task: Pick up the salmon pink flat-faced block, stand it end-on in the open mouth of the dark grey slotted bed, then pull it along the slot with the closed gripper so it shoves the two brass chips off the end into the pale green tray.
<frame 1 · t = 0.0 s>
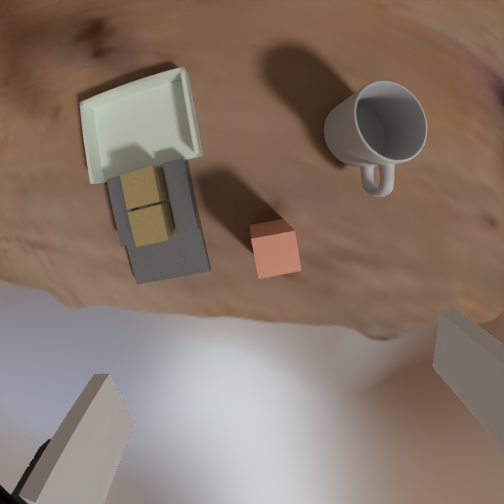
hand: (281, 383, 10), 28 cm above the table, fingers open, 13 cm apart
chip b: (157, 221, 35), point 1 cm above the table, touching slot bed
mug: (355, 147, 35), on the table
salmon pink flat-faced block: (269, 237, 37), on the table
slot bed: (161, 222, 37), on the table
tray: (142, 128, 34), on the table
chip a: (150, 186, 34), point 1 cm above the table, touching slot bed
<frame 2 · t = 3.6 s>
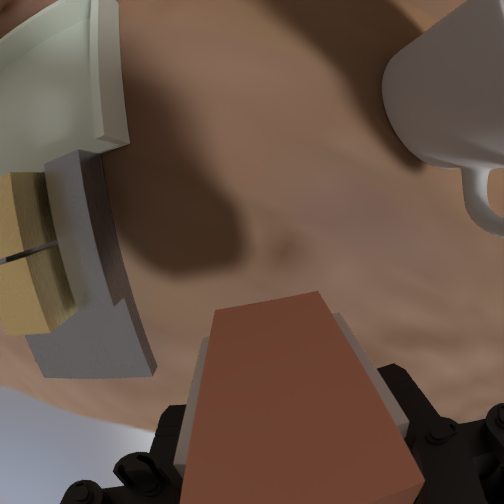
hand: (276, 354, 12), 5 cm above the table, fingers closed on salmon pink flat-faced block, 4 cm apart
chip b: (52, 279, 16), point 1 cm above the table, touching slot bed
mug: (437, 131, 15), on the table
salmon pink flat-faced block: (274, 342, 12), point 5 cm above the table, touching gripper
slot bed: (63, 279, 17), on the table
tray: (35, 104, 14), on the table
chip a: (35, 212, 15), point 1 cm above the table, touching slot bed
when the fingers open (2 cm above the table, at t = 7.4 s): salmon pink flat-faced block stays where it is, resting on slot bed.
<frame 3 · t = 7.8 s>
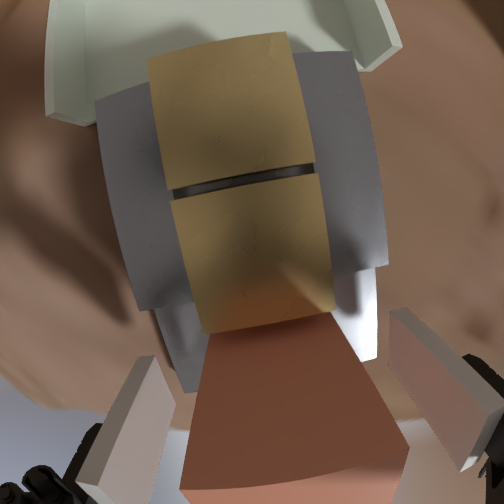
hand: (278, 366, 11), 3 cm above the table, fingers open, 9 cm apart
chip b: (253, 233, 12), point 1 cm above the table, touching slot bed
salmon pink flat-faced block: (273, 334, 13), point 1 cm above the table, touching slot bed
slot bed: (254, 237, 13), on the table
chip a: (233, 127, 11), point 1 cm above the table, touching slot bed
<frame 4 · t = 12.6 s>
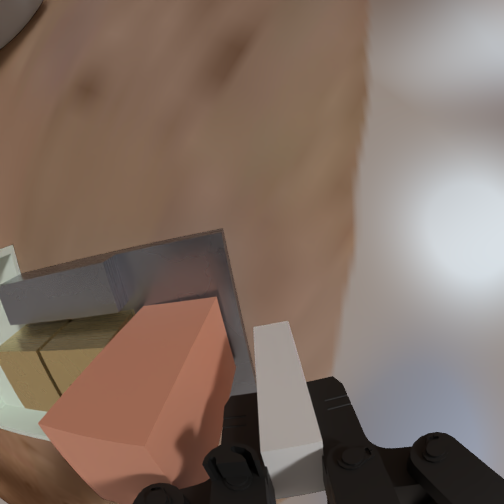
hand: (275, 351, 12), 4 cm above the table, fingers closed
chip b: (114, 344, 15), point 1 cm above the table, touching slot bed
mug: (26, 1, 10), on the table
salmon pink flat-faced block: (189, 338, 15), point 1 cm above the table, tilted 7°, touching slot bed
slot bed: (127, 334, 16), on the table
tray: (3, 343, 16), on the table
chip a: (60, 348, 15), point 1 cm above the table, touching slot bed
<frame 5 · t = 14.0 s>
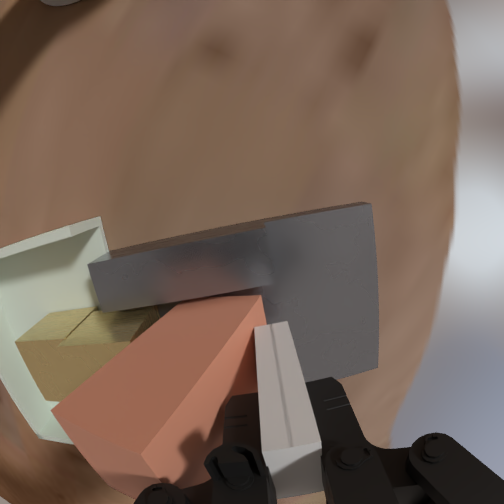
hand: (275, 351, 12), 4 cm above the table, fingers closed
chip b: (134, 339, 15), point 1 cm above the table
salmon pink flat-faced block: (230, 334, 14), point 2 cm above the table, tilted 21°, touching gripper
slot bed: (250, 314, 16), on the table
tray: (65, 339, 16), on the table
chip a: (83, 338, 16), resting on tray
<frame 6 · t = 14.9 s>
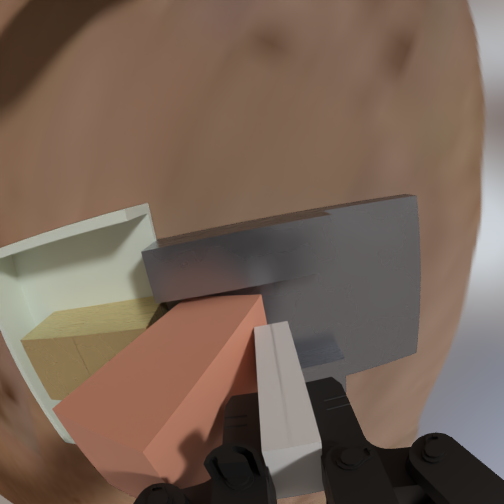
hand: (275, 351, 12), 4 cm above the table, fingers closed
chip b: (144, 330, 16), resting on tray, touching salmon pink flat-faced block
salmon pink flat-faced block: (230, 334, 15), point 2 cm above the table, tilted 21°, touching chip b, gripper
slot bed: (302, 302, 16), on the table
tray: (99, 335, 16), on the table
chip a: (88, 337, 16), resting on tray
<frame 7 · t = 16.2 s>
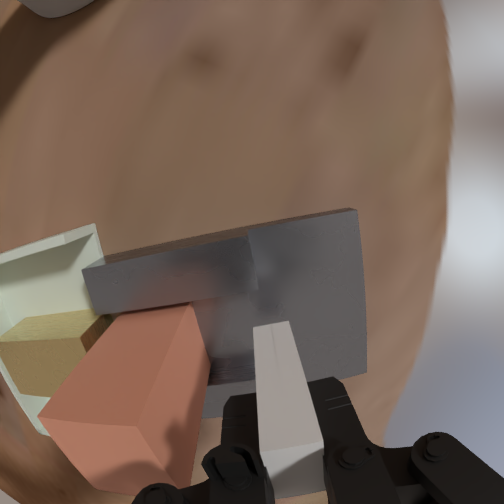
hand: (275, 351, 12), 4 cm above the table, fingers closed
chip b: (96, 337, 17), resting on tray, touching chip a
salmon pink flat-faced block: (167, 339, 16), point 1 cm above the table, touching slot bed
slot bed: (238, 317, 17), on the table
tray: (64, 339, 17), on the table
chip a: (53, 340, 17), resting on tray, touching chip b
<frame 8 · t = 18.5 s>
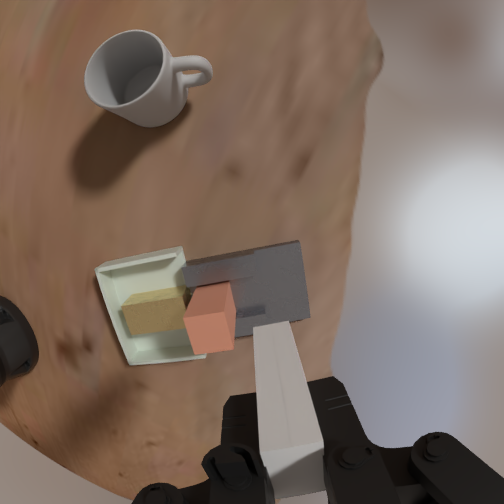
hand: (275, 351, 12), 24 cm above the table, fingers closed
chip b: (177, 301, 37), resting on tray, touching chip a
mug: (169, 93, 32), on the table
salmon pink flat-faced block: (216, 298, 36), point 1 cm above the table, touching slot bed
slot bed: (249, 289, 37), on the table
tray: (156, 304, 38), on the table
chip a: (149, 305, 37), resting on tray, touching chip b
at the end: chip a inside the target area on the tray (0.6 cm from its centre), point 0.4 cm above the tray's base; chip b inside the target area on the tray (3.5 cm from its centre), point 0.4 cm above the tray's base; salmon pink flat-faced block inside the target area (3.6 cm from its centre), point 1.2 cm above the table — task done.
